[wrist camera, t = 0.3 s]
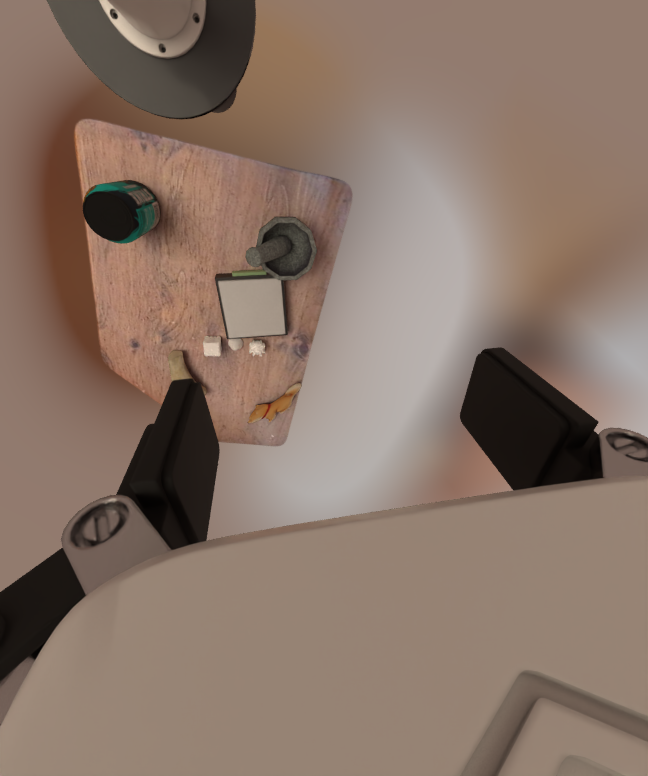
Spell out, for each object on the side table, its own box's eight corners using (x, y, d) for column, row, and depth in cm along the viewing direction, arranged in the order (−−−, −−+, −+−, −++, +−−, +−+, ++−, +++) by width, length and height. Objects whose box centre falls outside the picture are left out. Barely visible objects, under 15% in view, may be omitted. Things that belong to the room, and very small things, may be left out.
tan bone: (209, 389, 72) (206, 402, 68) (183, 397, 73) (178, 411, 69) (182, 347, 66) (177, 359, 62) (154, 356, 66) (147, 369, 62)
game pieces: (206, 349, 67) (204, 356, 64) (205, 334, 65) (202, 341, 62) (265, 350, 69) (265, 358, 66) (265, 336, 67) (265, 344, 65)
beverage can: (103, 183, 49) (64, 188, 39) (150, 177, 49) (123, 181, 39) (125, 233, 53) (94, 250, 43) (168, 227, 53) (147, 242, 44)
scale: (215, 270, 58) (213, 275, 56) (282, 267, 60) (283, 272, 57) (228, 333, 66) (226, 340, 63) (287, 329, 67) (288, 336, 65)
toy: (258, 423, 81) (242, 415, 79) (306, 383, 75) (290, 372, 72) (258, 433, 79) (242, 425, 76) (308, 393, 73) (291, 382, 70)
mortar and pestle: (311, 212, 55) (322, 223, 46) (311, 268, 61) (320, 289, 51) (244, 211, 54) (241, 223, 44) (250, 269, 59) (248, 291, 49)
